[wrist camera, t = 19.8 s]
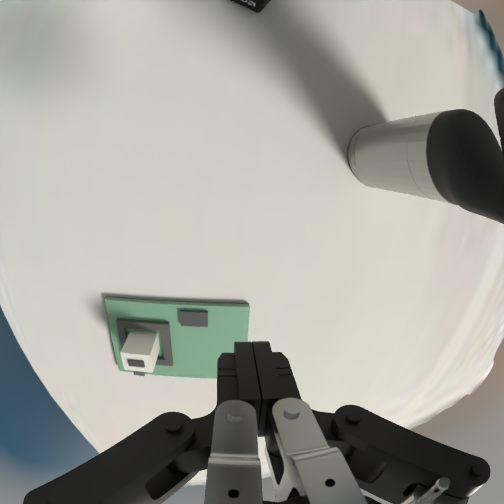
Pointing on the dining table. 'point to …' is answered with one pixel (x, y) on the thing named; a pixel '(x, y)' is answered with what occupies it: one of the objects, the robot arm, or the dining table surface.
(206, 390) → the dining table surface
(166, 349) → the board
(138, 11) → the dining table surface
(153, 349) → the plug
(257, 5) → the graphics card box
